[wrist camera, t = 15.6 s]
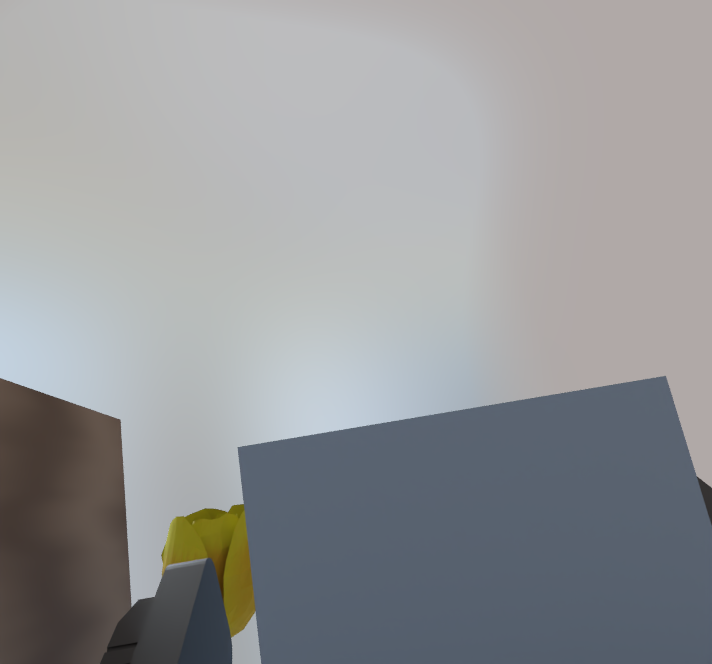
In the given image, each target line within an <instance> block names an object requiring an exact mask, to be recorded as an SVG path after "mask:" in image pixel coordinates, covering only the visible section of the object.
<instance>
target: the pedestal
mask: <svg viewBox="0 0 712 664" xmlns="http://www.w3.org/2000/svg"><path fill="white" fill-rule="evenodd" d="M130 609H131V592H130V575H129V557H128V541H127V524H126V506H125V490H124V473H123V457H122V439H121V422H120V419H116V418H114V417H111V416H108V415H104V414H102V413H99V412H96V411H94V410H91V409H88V408H85V407H82V406H79V405H76V404H73V403H70V402H67V401H65V400H62V399H59V398H55V397H53V396H50V395H46V394H44V393H41V392H38V391H35V390H33V389H30V388H27V387H24V386H21V385H18V384H15V383H13V382H10V381H6V380H4V379H1V378H0V664H100V662H101V660H102V658H103V655H104V653H105V652H107V646H108V644H109V642H110V639H111V637H112V635H113V632H114V630H115V628H116V626H117V623H118V622H119V621H120V620H121V619H122V618H123V616H124V615H125V614H126V613H127V612H128V611H129V610H130Z"/></svg>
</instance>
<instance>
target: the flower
mask: <svg viewBox="0 0 712 664" xmlns="http://www.w3.org/2000/svg"><path fill="white" fill-rule="evenodd" d="M161 556H162V561H163V570H162V576H163V574H164V571H165V569H166V567H167V566H168V565H170V564H175V563H181V562H187V561H193V560H199V559H205V558H211V559H212V561H213V563H214V566H215V569H216V573H217V577H218V582H219V586H220V590H221V594H222V599H223V603H224V607H225V611H226V616H227V620H228V624H229V629H230V634H231V637H233V636H234V635H236V634H237V633H239V632H240V631H242V630H243V629H244V628H245V626H246V625H247V623H248V622H249V620H250V619H251V617H252V616H253V614H254V613H255V611H256V610H255V600H254V591H253V582H252V573H251V564H250V555H249V546H248V537H247V528H246V518H245V509H244V504H241V505H234V506H232V507H231V509H230V510H229V512H228V513H227V512H225V511H222V510H218V509H203V510H200V511H198V512H195V513H192V514H190V515H188V516H186V517H184V516H182V517H176V518H175V519H174V520H173V521H172V522H171V524H170V528H169V532H168V537H167V541H166V545H165V547H164V550H163V552H162V555H161Z"/></svg>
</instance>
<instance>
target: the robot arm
mask: <svg viewBox="0 0 712 664" xmlns="http://www.w3.org/2000/svg"><path fill="white" fill-rule="evenodd" d="M697 479H698V483H699V486H700V489H701V493H702V496H703V499H704V502H705V506H706V509H707V512H708V515H709V519H710V522H711V525H712V488H711V487H710V486H708V485H707V484H706V483H705V482H703V481H702V480H701V479H699V478H698V477H697ZM100 664H232V642H231V634H230V629H229V624H228V620H227V616H226V611H225V607H224V603H223V599H222V594H221V590H220V586H219V582H218V577H217V573H216V569H215V566H214V563H213V561H212V559H211V558H205V559H199V560H193V561H187V562H181V563H175V564H170V565H168V566H167V567H166V569H165V571H164V574H163V576H162V579H161V582H160V584H159V587H158V590H157V592H156V595H155V597H152V598H146V599H140V600H138V601H137V602H136V603H135V604H134V606H133V607H132V608H131V609H130V610H129V611H128V612H127V613H126V614H125V615H124V616H123V618H122V619H121V620H120V621H119V622H118V623H117V626H116V628H115V630H114V632H113V635H112V637H111V639H110V642H109V644H108V646H107V652H105V653H104V655H103V658H102V660H101V662H100Z"/></svg>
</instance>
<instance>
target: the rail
mask: <svg viewBox="0 0 712 664" xmlns="http://www.w3.org/2000/svg"><path fill="white" fill-rule="evenodd" d="M238 455H239V463H240V472H241V482H242V491H243V500H244V509H245V518H246V528H247V537H248V546H249V555H250V564H251V573H252V582H253V591H254V600H255V610H256V619H257V628H258V636H259V646H260V655H261V663H262V664H712V525H711V522H710V519H709V515H708V512H707V509H706V506H705V502H704V499H703V496H702V493H701V489H700V486H699V483H698V479H697V476H696V473H695V470H694V467H693V463H692V460H691V457H690V454H689V450H688V447H687V444H686V440H685V437H684V434H683V431H682V427H681V425H680V421H679V418H678V414H677V411H676V408H675V405H674V401H673V398H672V395H671V392H670V388H669V385H668V382H667V379H666V376H663V377H657V378H651V379H645V380H639V381H633V382H627V383H621V384H615V385H609V386H603V387H597V388H591V389H585V390H579V391H573V392H567V393H561V394H555V395H549V396H543V397H537V398H531V399H525V400H519V401H513V402H507V403H501V404H495V405H489V406H483V407H477V408H471V409H465V410H459V411H453V412H447V413H441V414H435V415H429V416H423V417H417V418H411V419H405V420H399V421H393V422H387V423H381V424H375V425H369V426H363V427H357V428H351V429H345V430H339V431H333V432H327V433H321V434H315V435H309V436H303V437H297V438H291V439H285V440H279V441H273V442H267V443H261V444H255V445H249V446H243V447H238Z"/></svg>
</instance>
